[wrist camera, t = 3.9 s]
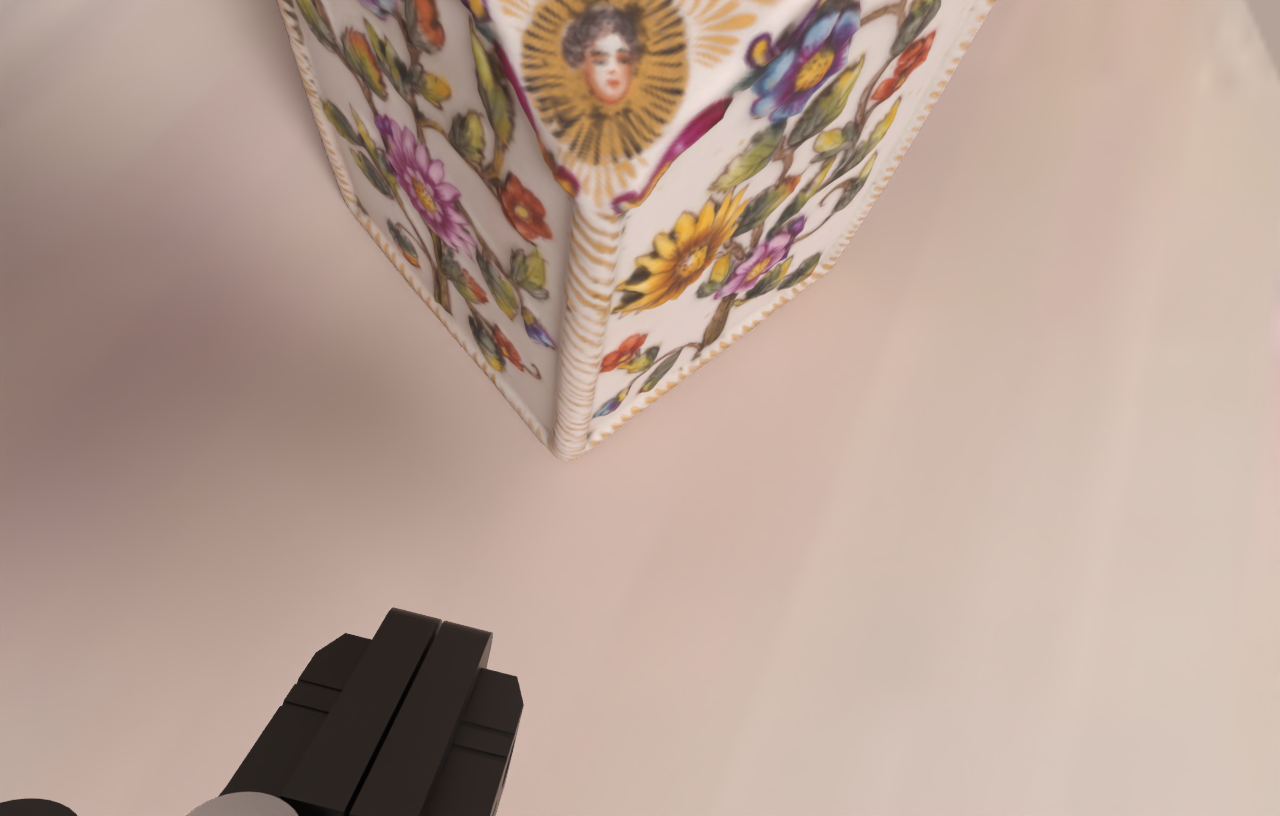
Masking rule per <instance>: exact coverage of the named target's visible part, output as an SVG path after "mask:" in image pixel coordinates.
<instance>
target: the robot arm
mask: <svg viewBox="0 0 1280 816" xmlns="http://www.w3.org/2000/svg"><path fill="white" fill-rule="evenodd" d="M492 638H493V633H492V632H488V631H484V630H480V629H476V628H472V627H468V626H464V625H460V624H456V623H452V622H448V621H444V622H443V623H442V620H441V619H437V618H433V617H429V616H425V615H421V614H417V613H413V612H409V611H406V610H402V609H398V608H392V609H391V610H390V611H389V612H388V614H387V615H386V617H385V619H384V621H383V622H382V624H381V626H380V627H379V629H378V631H377V632H376V634H375V636H374V637H373V639H372V640H371V639H367V638H363V637H359V636H355V635H351V634H347V633H345V634H344V635H342V636H340V637H339V638H337V639H336V640H334V641H333V642H331V643H330V644H328V645H327V646H325V647H324V648H322V649H321V650H319V651H318V652H316V653H315V655H314V656H313V658H312V659H311V661H310V662H309V664H308V665H307V667H306V668H305V670H304V671H303V673H302V674H301V676H300V677H299V679H298V682H297V684H295V685H294V686H293V688H292V689H291V691H290V692H289V694H288V695H287V697H286V698H285V700H284V702H283V705H282V706H280V707H279V709H278V710H277V712H276V713H275V715H274V716H273V718H272V719H271V720H270V722H269V723H268V725H267V726H266V728H265V729H264V731H263V732H262V734H261V735H260V737H259V738H258V740H257V741H256V743H255V744H254V746H253V747H252V749H251V750H250V752H249V753H248V755H247V756H246V758H245V759H244V761H243V762H242V764H241V765H240V767H239V768H238V770H237V771H236V773H235V774H234V776H233V777H232V779H231V780H230V782H229V783H228V785H227V786H226V788H225V789H224V790H223V791H222V793H221V794H220V795H219V796H218V797H216V798H214V799H212V800H209V801H207V802H205V803H203V804H202V805H200V806H198V807H197V808H195V809H194V810H193V811H191V812H190V813H189V814H188V815H187V816H495V815H496V812H497V809H498V805H499V802H500V798H501V795H502V792H503V788H504V785H505V781H506V777H507V773H508V769H509V765H510V760H511V756H512V752H513V748H514V743H515V739H516V735H517V731H518V727H519V722H520V718H521V714H522V710H523V706H524V705H523V700H522V696H521V692H520V687H519V683H518V679H517V677H516V676H512V675H508V674H504V673H500V672H496V671H492V670H488V669H486V667H487V663H488V658H489V653H490V649H491V644H492ZM0 816H77V815H76V813H74V812H73V811H72V810H71V809H70V808H68V807H66V806H64V805H62V804H60V803H57V802H54V801H51V800H44V799H18V800H11V801H6V802H2V803H0Z"/></svg>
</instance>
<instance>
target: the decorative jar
mask: <svg viewBox="0 0 1280 816" xmlns="http://www.w3.org/2000/svg"><path fill="white" fill-rule="evenodd" d="M995 1H996V0H277V2H278V6H279V9H280V12H281V14H282V17H283V20H284V24H285V27H286V30H287V33H288V37H289V41H290V45H291V49H292V51H293V53H294V57H295V61H296V63H297V66H298V71H299V73H300V75H301V78H302V83H303V85H304V87H305V92H306V94H307V97H308V101H309V104H310V106H311V110H312V113H313V116H314V119H315V122H316V125H317V127H318V129H319V133H320V135H321V139H322V142H323V144H324V148H325V151H326V152H327V157H328V159H329V161H330V163H331V167H332V169H333V172H334V175H335V177H336V181H337V183H338V185H339V189H340V191H341V193H342V195H343V198H344V200H345V202H346V204H347V206H348V207H349V209H350V210H351V212H352V213H353V215H354V216H355V217H356V218H357V219H358V220H359V222H360V224H361V225H362V226H363V228H365V229H366V230H367V231H368V232H369V234H370V235H371V237H372V239H373V240H374V241H375V242H376V243H377V244H378V246H379V247H380V248H381V250H382V251H383V252H384V253H385V254H386V256H387V257H388V258H389V260H390V261H391V262H392V263H393V265H394V266H395V267H396V268H397V270H398V271H399V272H400V273H401V274H402V275H403V276H404V278H405V279H406V281H407V282H408V283H409V285H410V286H411V287H412V288H413V289H414V290H415V291H416V293H417V294H418V295H419V296H420V297H421V298H422V299H423V301H424V302H425V303H426V304H427V305H428V307H429V308H430V309H431V310H432V311H433V312H434V314H435V315H436V316H437V317H438V318H439V319H440V321H441V322H442V323H443V324H444V325H445V326H446V327H447V329H448V330H449V332H450V333H451V334H452V335H453V336H454V337H455V338H456V340H457V341H458V342H459V343H460V345H461V346H462V347H463V348H464V349H465V350H466V351H467V353H468V354H469V355H470V356H471V357H472V358H473V359H474V361H475V362H476V363H477V364H478V366H479V367H480V368H481V369H482V370H483V371H484V372H485V374H486V375H487V376H488V377H489V378H490V379H491V380H492V381H493V382H494V384H495V386H496V387H497V388H498V389H499V390H500V391H501V392H502V394H503V395H504V396H505V398H506V399H507V400H508V402H509V403H510V404H511V405H512V407H513V408H514V409H515V410H516V412H517V413H518V414H519V415H520V416H521V417H522V419H523V420H524V421H525V422H526V423H527V424H528V426H529V427H530V429H531V430H532V431H533V432H534V433H535V434H536V436H537V437H538V438H539V439H540V441H541V442H542V443H543V444H544V445H545V446H546V448H547V449H548V450H549V451H550V452H551V453H552V454H553V455H554V456H556V457H557V458H559V459H561V460H564V461H569V460H573V459H576V458H578V457H580V456H583V455H584V454H585V453H586V452H588V451H589V450H590V449H592V448H593V447H594V446H596V445H597V444H598V443H599V442H601V441H602V440H604V439H605V438H607V437H608V436H609V435H611V434H612V433H613V432H615V431H616V430H617V429H618V428H619V427H621V426H622V425H624V424H625V423H626V422H627V421H629V420H630V419H631V418H633V417H634V416H635V415H636V414H638V413H639V412H641V411H642V410H644V409H645V408H646V407H647V406H649V405H650V404H651V403H653V402H654V401H656V400H657V399H658V398H660V397H661V396H663V395H664V394H666V393H667V392H668V391H669V390H671V389H672V388H673V387H675V386H676V385H677V384H678V383H679V382H681V381H682V380H683V379H685V378H686V377H688V376H689V375H690V374H692V373H693V372H695V371H696V370H698V369H699V368H700V367H701V366H702V365H704V364H706V363H707V362H709V361H710V360H711V359H713V358H714V357H716V356H717V355H718V354H720V353H721V352H722V351H723V350H724V349H726V348H727V347H729V346H730V345H731V344H733V343H734V342H735V341H737V340H738V339H740V338H741V337H742V336H743V335H744V334H746V333H747V332H749V331H750V330H752V329H753V328H754V327H755V326H756V325H758V324H759V323H760V322H762V321H763V320H764V319H765V318H767V317H768V316H769V315H770V314H772V313H773V312H774V311H775V310H777V309H778V308H780V307H781V306H782V305H783V304H785V303H786V302H788V301H789V300H790V299H791V298H793V297H794V296H796V295H797V294H798V293H800V292H801V291H803V290H804V289H806V288H807V287H808V286H809V285H810V284H812V283H813V282H814V281H816V280H818V279H819V278H821V277H822V276H824V275H825V274H826V273H827V272H828V271H829V270H830V269H831V268H832V267H833V266H834V265H835V263H836V261H837V259H838V258H839V256H840V255H841V254H842V253H843V251H844V249H845V247H846V246H847V245H848V243H849V242H850V241H851V239H852V237H853V235H854V234H855V233H856V231H857V229H858V227H859V226H860V225H861V222H862V221H863V220H864V218H865V216H866V215H867V214H868V212H869V210H870V209H871V207H872V206H873V204H874V203H875V201H876V199H877V198H878V197H879V195H880V193H881V192H882V191H883V189H884V187H885V185H886V184H887V183H888V181H889V180H890V177H891V175H892V174H893V173H894V171H895V170H896V167H897V166H898V164H899V163H900V162H901V160H902V157H903V155H904V154H905V153H906V151H907V150H908V149H909V147H910V145H911V143H912V142H913V140H914V139H915V137H916V135H917V133H918V132H919V131H920V129H921V127H922V124H923V123H924V121H925V120H926V119H927V117H928V115H929V114H930V112H931V110H932V108H933V106H934V105H935V103H936V102H937V100H938V99H939V98H940V96H941V94H942V92H943V90H944V88H945V87H946V85H947V83H948V81H949V79H950V78H951V76H952V75H953V73H954V71H955V70H956V68H957V66H958V64H959V62H960V60H961V58H962V57H963V55H964V54H965V52H966V51H967V49H968V47H969V45H970V43H971V41H972V40H973V38H974V36H975V35H976V33H977V31H978V30H979V28H980V26H981V25H982V23H983V22H984V20H985V19H986V17H987V16H988V14H989V12H990V10H991V8H992V6H993V4H994V3H995Z"/></svg>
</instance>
